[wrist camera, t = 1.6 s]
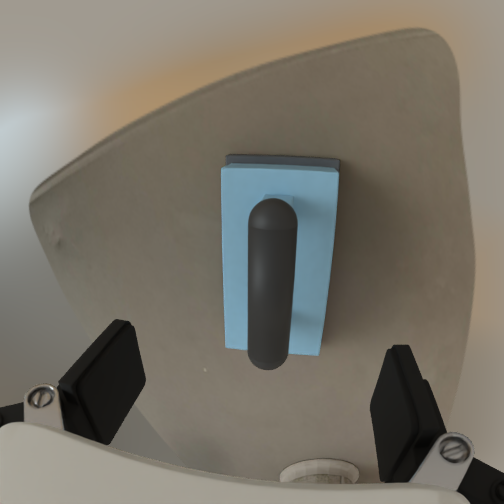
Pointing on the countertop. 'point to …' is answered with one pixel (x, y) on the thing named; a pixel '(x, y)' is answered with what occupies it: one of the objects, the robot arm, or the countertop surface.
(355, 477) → the mug
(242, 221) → the stamp
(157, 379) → the countertop surface
